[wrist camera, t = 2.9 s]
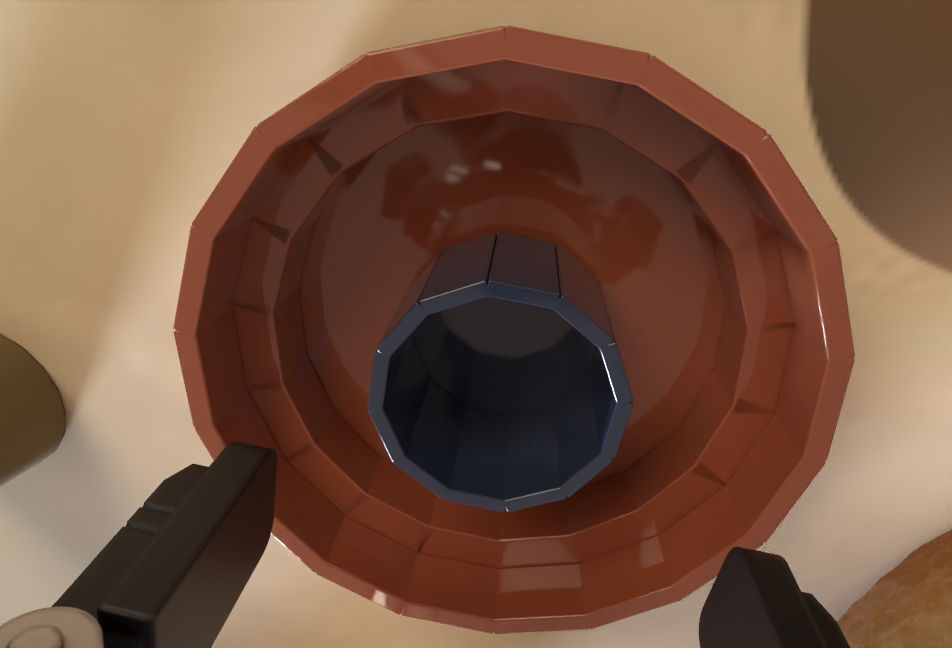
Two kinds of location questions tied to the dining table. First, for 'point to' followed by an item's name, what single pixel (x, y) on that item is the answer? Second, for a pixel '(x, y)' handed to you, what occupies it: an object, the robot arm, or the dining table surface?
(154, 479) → the dining table surface
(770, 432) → the serving bowl
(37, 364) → the cork
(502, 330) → the bowl
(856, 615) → the bread roll
